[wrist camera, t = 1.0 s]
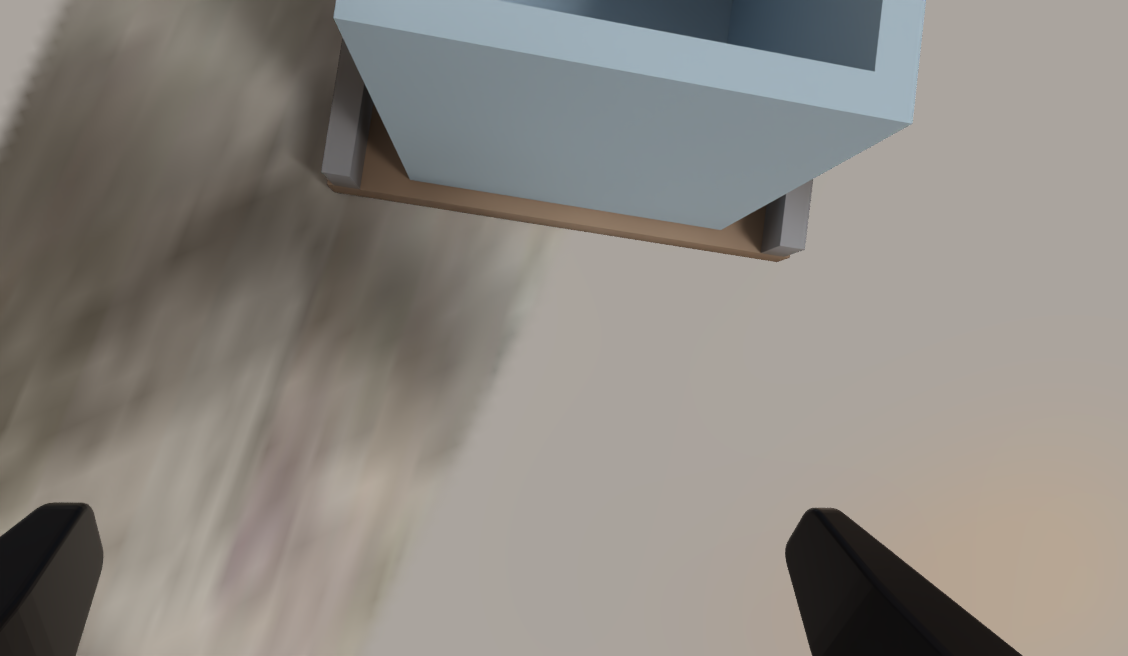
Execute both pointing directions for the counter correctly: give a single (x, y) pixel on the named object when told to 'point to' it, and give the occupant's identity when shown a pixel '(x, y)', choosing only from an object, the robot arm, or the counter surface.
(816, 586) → the robot arm
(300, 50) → the counter surface
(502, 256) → the counter surface
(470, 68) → the box
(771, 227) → the brown wooden tray
